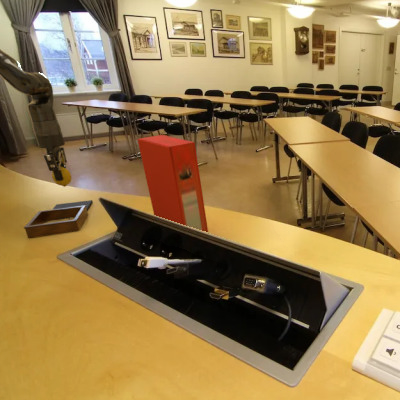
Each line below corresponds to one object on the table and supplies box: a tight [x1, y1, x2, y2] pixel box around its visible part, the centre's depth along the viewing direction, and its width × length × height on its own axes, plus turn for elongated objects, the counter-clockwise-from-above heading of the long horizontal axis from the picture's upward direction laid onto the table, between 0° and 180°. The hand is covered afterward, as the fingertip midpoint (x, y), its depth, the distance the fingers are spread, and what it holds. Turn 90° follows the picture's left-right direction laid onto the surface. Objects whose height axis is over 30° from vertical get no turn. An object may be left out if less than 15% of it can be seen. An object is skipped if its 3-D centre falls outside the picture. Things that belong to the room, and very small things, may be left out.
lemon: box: [51, 167, 72, 188], centre depth 120 cm, size 6×6×8 cm
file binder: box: [137, 134, 209, 233], centre depth 98 cm, size 8×17×32 cm, turn 53°
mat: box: [52, 199, 93, 212], centre depth 125 cm, size 12×10×1 cm
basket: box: [23, 205, 89, 239], centre depth 111 cm, size 14×14×4 cm
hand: (62, 177), depth 120 cm, fingers closed on lemon, 5 cm apart
